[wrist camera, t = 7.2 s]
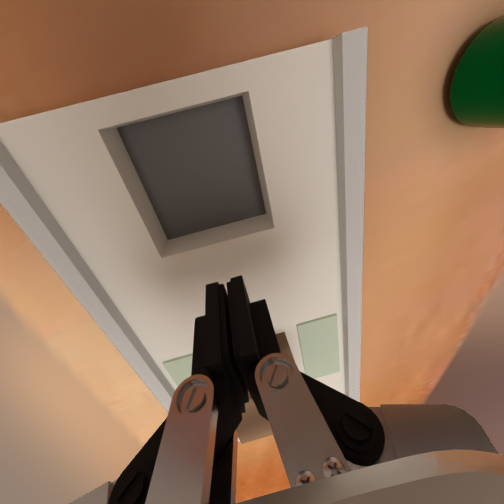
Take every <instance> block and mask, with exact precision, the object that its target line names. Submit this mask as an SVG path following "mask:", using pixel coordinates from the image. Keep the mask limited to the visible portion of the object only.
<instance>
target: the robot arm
mask: <svg viewBox="0 0 504 504" xmlns="http://www.w3.org/2000/svg"><path fill="white" fill-rule="evenodd" d="M227 294H228V295H227ZM248 391H249V393H250V396H251V398H252V400H253V401H254V403H255V406H256V408H257V410H258V413H259V415H261V416H262V417H263V418H265V419H266V420H268V421H269V423H270V426H271V429H272V432H273V435H274V438H275V441H276V444H277V447H278V450H279V453H280V456H281V459H282V462H283V465H284V468H285V471H286V474H287V477H288V480H289V483H290V486H291V488H289V489H286V490H282V491H279V492H275V493H272V494H268V495H265V496H261V497H258V498H254V499H251V500H247V501H244V502H240V503H237V504H504V455H501V454H498V452H497V451H496V449H495V447H494V446H493V444H492V443H491V441H490V439H489V437H488V436H487V434H486V432H485V431H484V429H483V428H482V426H481V425H480V424H479V423H478V421H477V420H476V419H475V418H474V417H473V416H471V415H470V414H469V413H467V412H466V411H465V410H463V409H460V408H458V407H456V406H453V405H447V404H384V405H380V407H367V406H365V405H364V404H362V403H360V402H358V401H356V400H354V399H352V398H350V397H348V396H346V395H345V394H343V393H341V392H339V391H337V390H335V389H333V388H331V387H329V386H327V385H325V384H323V383H322V382H320V381H318V380H316V379H314V378H312V377H310V376H308V375H306V374H304V373H302V372H300V371H299V369H298V367H297V365H296V364H295V362H294V361H293V359H292V358H290V357H289V356H287V355H285V354H282V353H281V351H280V348H279V344H278V341H277V337H276V334H275V330H274V327H273V324H272V320H271V317H270V313H269V310H268V307H267V303H266V300H265V299H263V300H259V301H255V302H252V303H250V300H249V297H248V293H247V290H246V287H245V283H244V280H243V277H242V275H240V276H237V277H233V278H230V282H227V292H226V289H225V286H224V284H219V283H218V282H214V283H211V284H207V285H206V293H205V315H204V316H200V317H197V318H196V319H195V325H194V340H193V356H192V371H191V376H190V377H188V378H187V379H185V380H184V381H183V382H182V383H181V384H179V386H178V387H177V389H176V390H175V392H174V395H173V397H172V400H171V404H170V408H169V412H168V416H167V418H166V419H165V421H164V422H163V423H162V424H161V426H160V427H159V428H158V429H157V430H156V432H155V433H154V434H153V435H152V437H151V438H150V439H149V440H148V441H147V443H146V444H145V445H144V446H143V448H142V449H141V450H140V451H139V453H138V454H137V455H136V456H135V458H134V459H133V460H132V461H131V462H130V464H129V465H128V466H127V467H126V469H125V470H124V471H123V472H122V474H121V475H120V477H119V478H118V479H117V480H116V481H114V482H112V483H111V482H109V481H108V482H107V483H105V484H103V485H101V486H99V487H98V488H96V489H94V490H92V491H91V492H89V493H87V494H85V495H84V496H82V497H80V498H78V499H77V500H75V501H73V502H71V503H69V504H235V502H236V474H237V445H238V430H237V427H238V426H239V424H240V422H241V421H242V413H245V412H246V410H245V403H248V402H249V395H248Z"/></svg>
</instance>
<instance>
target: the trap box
mask: <svg viewBox="0 0 504 504" xmlns="http://www.w3.org/2000/svg"><path fill="white" fill-rule="evenodd" d="M367 33H368V26H366V27H362V28H358V29H354V30H350V31H346V32H342V33H341V34H339V35H338V36H336V37H334V38H333V39H329V40H325V41H321V42H318V43H314V44H310V45H306V46H302V47H298V48H294V49H290V50H286V51H282V52H278V53H274V54H270V55H266V56H263V57H259V58H255V59H251V60H247V61H243V62H239V63H235V64H231V65H227V66H223V67H219V68H215V69H211V70H208V71H204V72H200V73H196V74H192V75H188V76H184V77H180V78H176V79H172V80H168V81H164V82H160V83H156V84H152V85H149V86H145V87H141V88H137V89H133V90H129V91H125V92H121V93H117V94H113V95H109V96H105V97H101V98H97V99H94V100H90V101H86V102H82V103H78V104H74V105H70V106H66V107H62V108H58V109H54V110H50V111H46V112H42V113H39V114H35V115H31V116H27V117H23V118H19V119H15V120H11V121H7V122H3V123H0V203H1V204H2V206H3V207H4V208H5V209H6V211H7V212H8V213H9V214H10V216H11V217H12V218H13V219H14V221H15V222H16V223H17V225H18V226H19V227H20V228H21V230H22V231H23V232H24V233H25V235H26V236H27V237H28V238H29V240H30V241H31V242H32V243H33V245H34V246H35V247H36V248H37V250H38V251H39V252H40V253H41V255H42V256H43V257H44V258H45V260H46V261H47V262H48V263H49V265H50V266H51V267H52V268H53V270H54V271H55V272H56V273H57V275H58V276H59V277H60V278H61V280H62V281H63V282H64V283H65V285H66V286H67V287H68V288H69V290H70V291H71V292H72V293H73V295H74V296H75V297H76V299H77V300H78V301H79V302H80V304H81V305H82V306H83V307H84V309H85V310H86V311H87V312H88V314H89V315H90V316H91V317H92V319H93V320H94V321H95V322H96V324H97V325H98V326H99V327H100V329H101V330H102V331H103V332H104V334H105V335H106V336H107V337H108V339H109V340H110V341H111V342H112V344H113V345H114V346H115V347H116V349H117V350H118V351H119V352H120V354H121V355H122V356H123V357H124V359H125V360H126V361H127V362H128V364H129V365H130V366H131V368H132V369H133V370H134V371H135V373H136V374H137V375H138V376H139V378H140V379H141V380H142V381H143V383H144V384H145V385H146V386H147V388H148V389H149V390H150V391H151V393H152V394H153V395H154V396H155V398H156V399H157V400H158V401H159V403H160V404H161V405H162V406H163V408H164V409H165V410H166V411H167V413H168V412H169V408H170V404H171V400H172V397H173V395H174V392H175V390H176V389H177V387H178V386H179V384H181V383H182V382H183V381H184V380H185V379H187V378H188V377H190V376H191V371H192V356H193V340H194V325H195V319H196V318H197V317H200V316H204V315H205V293H206V285H207V284H211V283H214V282H218V283H219V284H224V286H225V289H226V292H227V282H230V278H233V277H237V276H240V275H242V277H243V280H244V283H245V287H246V290H247V293H248V297H249V300H250V303H252V302H255V301H259V300H263V299H265V300H266V303H267V307H268V310H269V313H270V317H271V320H272V324H273V327H274V330H275V334H278V333H282V332H285V335H286V338H287V340H288V343H289V346H290V349H291V352H292V355H293V358H294V361H295V364H296V365H297V367H298V369H299V371H300V372H302V373H304V374H306V375H308V376H310V377H312V378H314V379H316V380H318V381H320V382H322V383H323V384H325V385H327V386H329V387H331V388H333V389H335V390H337V391H339V392H341V393H343V394H345V395H346V396H348V397H350V398H352V399H354V400H356V401H358V402H360V356H361V310H362V264H363V217H364V171H365V125H366V79H367ZM227 295H228V294H227ZM239 441H240V440H239V438H238V442H239Z"/></svg>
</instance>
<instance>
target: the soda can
mask: <svg viewBox="0 0 504 504" xmlns="http://www.w3.org/2000/svg"><path fill="white" fill-rule="evenodd" d="M449 97H450V105H451V108H452V111H453V113H454V115H455V117H456V118H457V119H458V121H459V122H461V123H462V124H463V125H466V126H469V127H482V128H504V15H503V16H501V17H499V18H498V19H496V20H495V21H493V22H491V23H490V24H489V25H488V26H487V27H485V28H484V29H483V30H482V31H481V32H480V33H479V34H478V35H477V36H476V38H475V39H474V40H473V41H472V43H471V44H470V45H469V47H468V48H467V49H466V51H465V52H464V54H463V55H462V57H461V59H460V60H459V62H458V64H457V66H456V68H455V71H454V74H453V76H452V80H451V84H450V93H449Z"/></svg>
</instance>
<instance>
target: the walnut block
mask: <svg viewBox="0 0 504 504" xmlns="http://www.w3.org/2000/svg"><path fill="white" fill-rule="evenodd" d="M276 337H277V341H278V344H279V348H280V351H281V353H282V354H285V355H287V356H289V357H290V358H292V359H293V361H294V358H293V355H292V352H291V349H290V346H289V343H288V340H287V338H286V335H285V332H282V333H278V334H276ZM294 362H295V361H294ZM248 395H249V402H248V403H245V410H246V412H245V413H242V421H241V422H240V424H239V426H238V427H237V430H238V438H239V440H240V442H241V443H242V444H243V443H246V442H249V441H253V440H256V439H260V438H263V437H267V436H270V435H273V432H272V429H271V426H270V423H269V421H268V420H266V419H265V418H263V417H262V416H261V415H259V413H258V410H257V408H256V406H255V403H254V401H253V400H252V398H251V396H250V393H249V391H248Z"/></svg>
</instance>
